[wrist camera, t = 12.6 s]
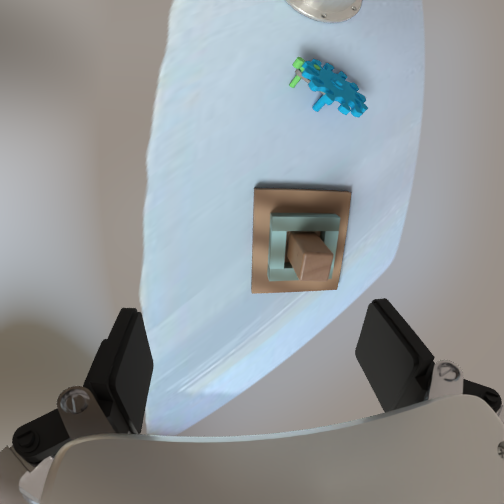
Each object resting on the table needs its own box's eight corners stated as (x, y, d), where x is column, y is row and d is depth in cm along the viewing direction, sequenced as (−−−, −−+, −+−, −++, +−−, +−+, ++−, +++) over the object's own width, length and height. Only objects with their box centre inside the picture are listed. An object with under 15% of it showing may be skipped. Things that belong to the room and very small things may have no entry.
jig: (254, 188, 39) (256, 192, 36) (347, 191, 40) (357, 196, 37) (251, 289, 45) (253, 300, 42) (334, 285, 47) (341, 295, 44)
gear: (374, 93, 33) (366, 123, 28) (349, 116, 38) (335, 150, 33) (311, 45, 31) (288, 63, 26) (291, 72, 36) (265, 96, 31)
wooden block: (289, 229, 41) (304, 252, 33) (315, 231, 41) (335, 253, 34) (285, 255, 42) (298, 282, 35) (311, 256, 43) (328, 282, 35)
